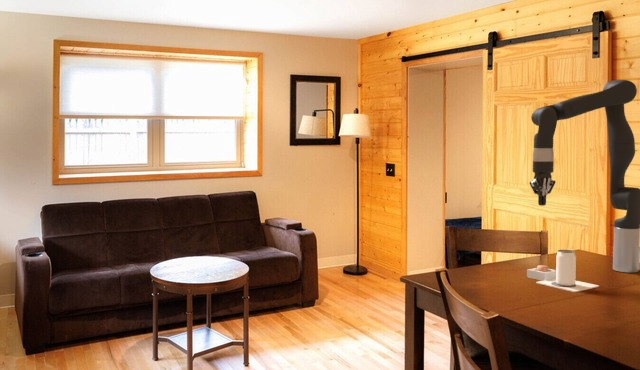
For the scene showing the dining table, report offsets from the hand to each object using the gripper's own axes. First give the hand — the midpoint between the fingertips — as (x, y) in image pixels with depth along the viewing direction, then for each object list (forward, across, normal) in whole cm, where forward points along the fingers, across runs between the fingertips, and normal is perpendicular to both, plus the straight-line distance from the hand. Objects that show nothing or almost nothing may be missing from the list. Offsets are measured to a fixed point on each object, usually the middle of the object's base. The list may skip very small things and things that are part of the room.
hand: (542, 205), depth 236 cm
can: (+27, -7, -16) cm, 32 cm away
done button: (+27, -4, -4) cm, 27 cm away
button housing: (+27, -4, -4) cm, 28 cm away
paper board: (+27, -6, -16) cm, 32 cm away
